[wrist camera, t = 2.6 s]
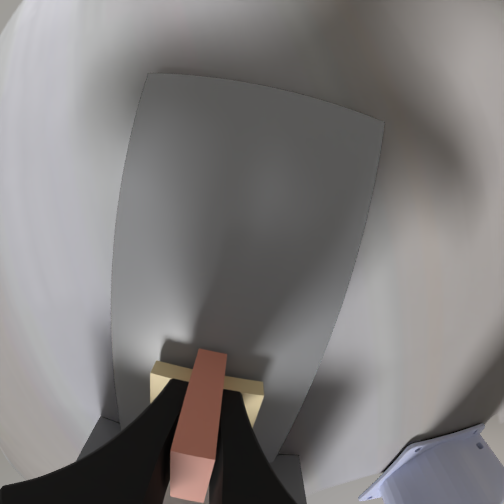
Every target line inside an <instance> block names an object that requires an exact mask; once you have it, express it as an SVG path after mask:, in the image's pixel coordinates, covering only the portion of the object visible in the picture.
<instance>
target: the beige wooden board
mask: <svg viewBox="0 0 504 504" xmlns="http://www.w3.org/2000/svg"><path fill="white" fill-rule="evenodd" d="M226 360H227V354H224V353H219V352H214V351H209V350H204V349H198V353H197V356H196V360H195V363H194V367H193V369H189V368H185V367H181V366H177V365H173V364H169V363H165V362H161V361H157V360H156V362H155V364H154V366H153V368H152V370H151V372H150V404H151V403H152V401H153V400H154V399H155V398H156V397H157V396H158V395H159V393H160V392H161V391H162V390H163V388H164V387H165V386H166V384H167V383H168V382H169V380H170V379H173V378H174V379H179V380H183V381H187V382H189V384H188V388H187V391H186V395H185V398H184V402H183V406H182V409H181V413H180V417H179V420H178V424H177V428H176V431H175V435H174V439H173V443H172V446H171V450H170V496H171V497H175V498H180V499H185V500H190V501H195V502H201V503H204V500H205V496H206V492H207V489H208V485H209V481H210V478H211V474H212V470H213V466H214V463H215V457H216V448H217V439H218V430H219V421H220V412H221V403H222V394H223V389H227V390H233V391H239V392H241V394H242V395H243V400H244V404H245V408H246V411H247V415H248V417H249V420H250V423H251V426H252V428H253V426H254V423H255V420H256V417H257V415H258V412H259V409H260V406H261V403H262V400H263V397H264V387H263V382H261V381H254V380H247V379H241V378H235V377H229V376H225V369H226Z"/></svg>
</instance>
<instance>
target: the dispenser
mask: <svg viewBox="0 0 504 504" xmlns="http://www.w3.org/2000/svg"><path fill="white" fill-rule="evenodd" d="M384 126H385V122H383V121H381V120H378V119H376V118H373V117H371V116H368V115H365V114H363V113H360V112H357V111H354V110H352V109H349V108H346V107H343V106H340V105H337V104H334V103H330V102H327V101H324V100H320V99H317V98H314V97H310V96H306V95H303V94H299V93H295V92H291V91H287V90H282V89H278V88H273V87H269V86H264V85H259V84H254V83H248V82H242V81H236V80H229V79H222V78H214V77H206V76H196V75H184V74H167V73H148V76H147V79H146V82H145V85H144V88H143V91H142V95H141V98H140V102H139V105H138V109H137V112H136V116H135V120H134V124H133V128H132V132H131V136H130V141H129V145H128V150H127V155H126V160H125V165H124V170H123V176H122V182H121V188H120V194H119V201H118V208H117V216H116V225H115V235H114V246H113V259H112V279H111V339H112V358H113V371H114V382H115V391H116V399H117V407H118V414H119V420H120V423H117V422H114V421H111V420H109V419H106V418H104V417H101V416H100V418H99V420H98V422H97V424H96V425H95V427H94V429H93V431H92V433H91V434H90V436H89V438H88V440H87V442H86V444H85V445H84V447H83V449H82V451H81V453H80V455H79V457H78V459H77V461H78V460H80V459H81V458H83V457H85V456H87V455H88V454H90V453H92V452H93V451H95V450H96V449H98V448H99V447H101V446H102V445H104V444H105V443H107V442H108V441H109V440H111V439H112V438H113V437H115V436H116V435H117V434H119V433H120V432H121V431H122V430H123V429H124V428H126V427H127V426H128V425H129V424H130V423H131V422H132V421H134V420H135V419H136V418H137V417H138V416H139V415H140V414H141V413H142V412H143V411H144V410H145V409H146V408H147V407H148V406H149V405H150V372H151V370H152V368H153V366H154V364H155V362H156V360H157V361H161V362H165V363H169V364H173V365H177V366H181V367H185V368H189V369H193V367H194V363H195V360H196V356H197V353H198V349H204V350H209V351H214V352H219V353H224V354H227V360H226V369H225V376H229V377H235V378H241V379H247V380H254V381H261V382H263V387H264V397H263V400H262V403H261V406H260V409H259V412H258V415H257V417H256V420H255V423H254V426H253V431H254V433H255V435H256V438H257V440H258V442H259V444H260V447H261V449H262V451H263V453H264V455H265V456H266V458H267V460H268V462H269V464H270V466H271V467H272V469H273V471H274V472H275V474H276V475H277V477H278V479H279V480H280V481H281V483H282V484H283V486H284V487H285V489H286V490H287V491H288V493H289V494H290V495H291V496H292V498H293V499H294V500H295V501H296V503H297V504H307V503H306V496H305V490H304V484H303V478H302V472H301V466H300V461H299V455H277V454H278V452H279V450H280V449H281V447H282V445H283V443H284V441H285V439H286V437H287V435H288V433H289V431H290V429H291V427H292V425H293V423H294V421H295V419H296V417H297V415H298V413H299V411H300V409H301V406H302V404H303V402H304V400H305V398H306V395H307V393H308V391H309V389H310V386H311V384H312V382H313V380H314V377H315V375H316V372H317V370H318V368H319V365H320V363H321V360H322V358H323V355H324V353H325V350H326V348H327V345H328V342H329V340H330V337H331V334H332V332H333V329H334V326H335V323H336V321H337V318H338V315H339V312H340V309H341V306H342V303H343V300H344V297H345V294H346V291H347V288H348V285H349V281H350V278H351V275H352V272H353V268H354V265H355V261H356V258H357V254H358V251H359V247H360V243H361V240H362V236H363V232H364V228H365V224H366V220H367V216H368V212H369V207H370V203H371V198H372V194H373V189H374V184H375V179H376V174H377V169H378V163H379V158H380V152H381V146H382V139H383V133H384ZM163 504H209V485H208V489H207V492H206V496H205V500H204V503H201V502H195V501H190V500H185V499H180V498H175V497H171V496H170V481H169V484H168V487H167V490H166V493H165V497H164V501H163Z"/></svg>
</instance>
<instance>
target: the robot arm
mask: <svg viewBox="0 0 504 504" xmlns="http://www.w3.org/2000/svg"><path fill="white" fill-rule="evenodd" d="M188 384H189V382H187V381H183V380H179V379H174V378H173V379H170V380H169V382H168V383H167V384H166V386H165V387H164V388H163V390H162V391H161V392H160V393H159V395H158V396H157V397H156V398H155V399H154V400H153V401H152V403H151V404H150V405H149V406H148V407H147V408H146V409H145V410H144V411H143V412H142V413H141V414H140V415H139V416H138V417H137V418H136V419H135V420H134V421H132V422H131V423H130V424H129V425H128V426H127V427H126V428H124V429H123V430H122V431H121V432H120V433H119V434H117V435H116V436H115V437H113V438H112V439H111V440H109V441H108V442H107V443H105V444H104V445H102V446H101V447H99V448H98V449H96V450H95V451H93V452H92V453H90V454H88V455H87V456H85V457H83V458H81V459H80V460H78V461H76V462H74V463H72V464H70V465H68V466H66V467H63V468H61V469H59V470H56V471H54V472H51V473H49V474H46V475H44V476H41V477H38V478H34V479H31V480H27V481H23V482H19V483H14V484H9V485H5V486H3V487H2V488H1V489H0V504H163V501H164V497H165V493H166V490H167V487H168V484H169V481H170V450H171V446H172V443H173V439H174V435H175V431H176V428H177V424H178V420H179V417H180V413H181V409H182V406H183V402H184V398H185V395H186V391H187V388H188ZM484 427H485V425H484V424H483V423H482V424H479V425H476V426H474V427H471V428H468V429H465V430H462V431H458V432H455V433H452V434H448V435H445V436H441V437H437V438H434V439H430V440H425V441H421V442H416V443H413V444H410V445H409V446H407V447H406V449H405V450H404V451H403V452H402V453H401V454H400V455H399V457H398V458H397V459H396V460H395V461H394V462H393V463H392V464H391V465H390V467H389V468H388V469H387V470H386V471H385V472H384V473H383V474H382V475H381V476H380V477H379V478H378V479H377V480H376V481H375V482H374V483H373V484H372V485H371V486H370V487H369V488H368V489H366V491H364V492H363V493H362V494H361V495H360V496H359V497H358V499H359V501H365V500H370V499H375V498H379V497H382V498H383V501H384V504H503V502H504V467H503V465H502V464H501V462H500V461H499V460H498V458H497V457H496V455H495V454H494V452H493V451H492V450H491V448H490V447H489V446H488V444H487V443H486V442H485V441H484V439H483V438H482V436H481V435H480V433H481V432H482V430H483V429H484ZM209 504H297V503H296V501H295V500H294V499H293V498H292V496H291V495H290V494H289V493H288V491H287V490H286V489H285V487H284V486H283V484H282V483H281V481H280V480H279V479H278V477H277V475H276V474H275V472H274V471H273V469H272V467H271V466H270V464H269V462H268V460H267V458H266V456H265V455H264V453H263V451H262V449H261V447H260V444H259V442H258V440H257V438H256V435H255V433H254V431H253V428H252V426H251V423H250V420H249V417H248V415H247V411H246V408H245V404H244V400H243V395H242V394H241V392H239V391H233V390H227V389H223V394H222V403H221V412H220V421H219V430H218V439H217V448H216V457H215V463H214V466H213V470H212V474H211V478H210V481H209Z"/></svg>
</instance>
